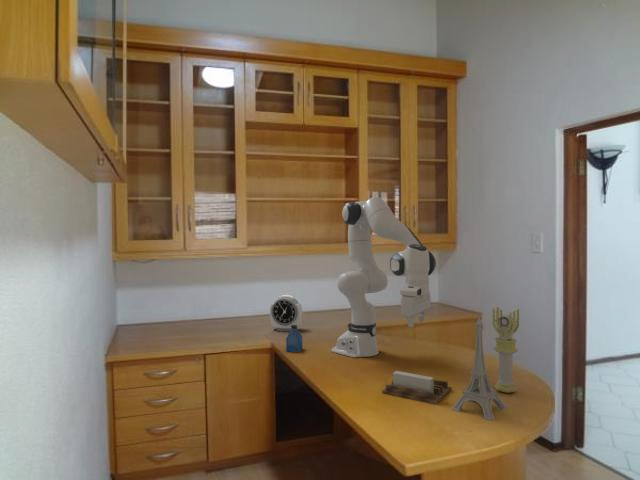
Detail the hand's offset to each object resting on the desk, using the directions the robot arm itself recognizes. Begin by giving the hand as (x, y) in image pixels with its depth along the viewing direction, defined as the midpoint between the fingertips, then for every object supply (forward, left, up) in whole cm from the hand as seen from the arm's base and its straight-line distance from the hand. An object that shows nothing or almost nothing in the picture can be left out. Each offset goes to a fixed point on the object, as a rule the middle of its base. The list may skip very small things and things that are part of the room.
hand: (416, 324), depth 173 cm
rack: (+3, -7, -23) cm, 24 cm away
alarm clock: (-97, +45, -23) cm, 110 cm away
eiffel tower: (+26, -11, -23) cm, 37 cm away
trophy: (+30, +10, -23) cm, 39 cm away
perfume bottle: (-68, +14, -23) cm, 73 cm away
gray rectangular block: (+3, -11, -22) cm, 25 cm away
